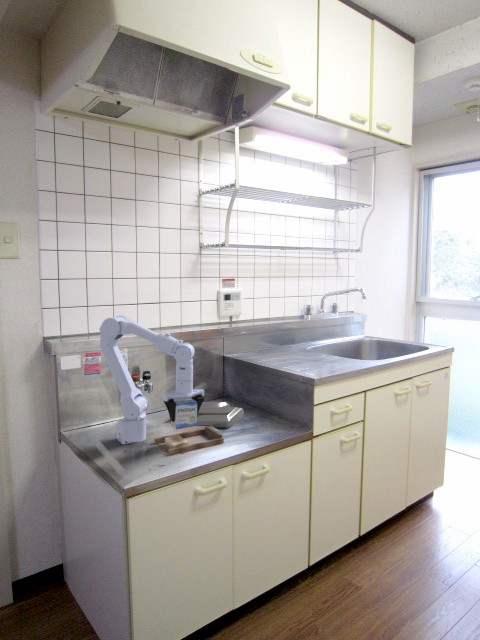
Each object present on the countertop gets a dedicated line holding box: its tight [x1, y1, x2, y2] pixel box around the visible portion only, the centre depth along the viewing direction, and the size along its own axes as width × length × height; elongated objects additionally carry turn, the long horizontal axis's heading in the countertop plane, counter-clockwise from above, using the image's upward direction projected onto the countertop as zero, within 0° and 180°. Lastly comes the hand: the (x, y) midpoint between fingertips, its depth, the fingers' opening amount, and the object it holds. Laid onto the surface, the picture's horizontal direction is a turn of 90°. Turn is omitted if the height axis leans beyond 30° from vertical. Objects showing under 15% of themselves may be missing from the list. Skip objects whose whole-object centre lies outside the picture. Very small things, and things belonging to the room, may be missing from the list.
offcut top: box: [164, 435, 189, 449], centre depth 144 cm, size 5×7×2 cm
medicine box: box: [170, 398, 198, 430], centre depth 147 cm, size 8×4×9 cm, turn 122°
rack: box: [153, 425, 225, 456], centre depth 146 cm, size 20×12×4 cm, turn 124°
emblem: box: [197, 401, 245, 429], centre depth 176 cm, size 28×5×28 cm
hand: (183, 418), depth 147 cm, fingers closed on medicine box, 7 cm apart
